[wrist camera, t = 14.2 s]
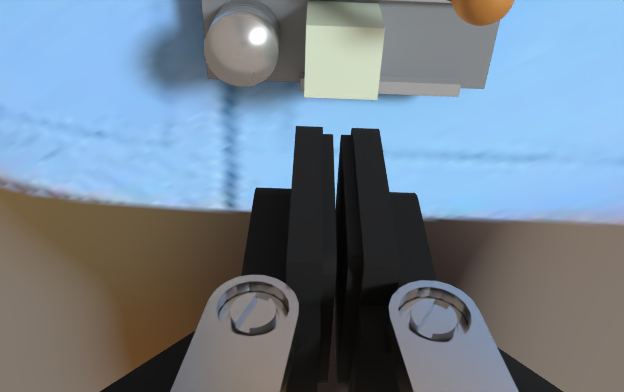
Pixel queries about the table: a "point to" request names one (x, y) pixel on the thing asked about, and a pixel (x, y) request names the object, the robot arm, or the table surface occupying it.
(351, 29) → the slider green
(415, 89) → the panel
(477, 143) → the table surface
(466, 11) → the lever
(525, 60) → the table surface
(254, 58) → the button
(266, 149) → the table surface
